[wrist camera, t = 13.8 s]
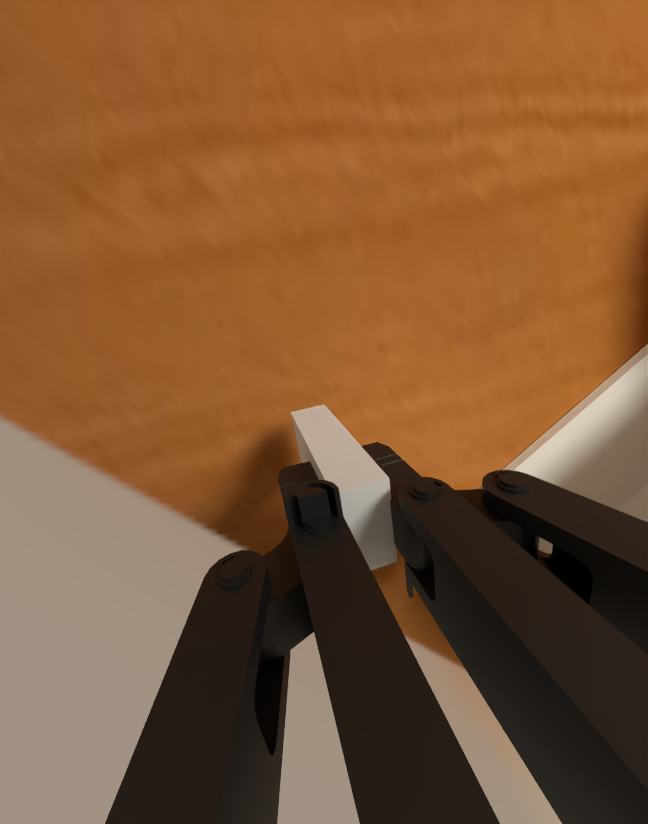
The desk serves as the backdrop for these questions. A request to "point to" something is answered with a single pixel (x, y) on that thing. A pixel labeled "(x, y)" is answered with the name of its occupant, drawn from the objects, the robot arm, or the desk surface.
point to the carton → (599, 445)
